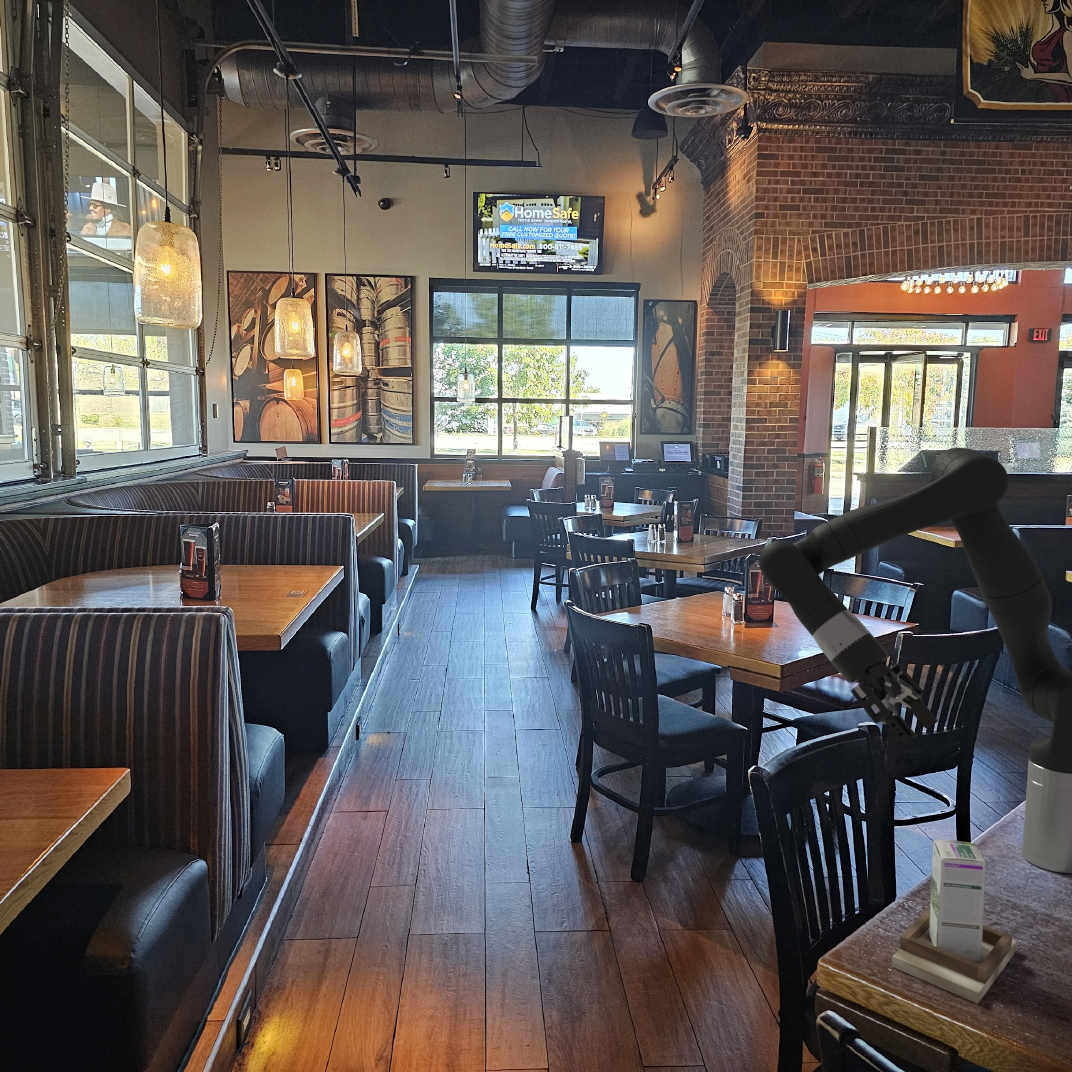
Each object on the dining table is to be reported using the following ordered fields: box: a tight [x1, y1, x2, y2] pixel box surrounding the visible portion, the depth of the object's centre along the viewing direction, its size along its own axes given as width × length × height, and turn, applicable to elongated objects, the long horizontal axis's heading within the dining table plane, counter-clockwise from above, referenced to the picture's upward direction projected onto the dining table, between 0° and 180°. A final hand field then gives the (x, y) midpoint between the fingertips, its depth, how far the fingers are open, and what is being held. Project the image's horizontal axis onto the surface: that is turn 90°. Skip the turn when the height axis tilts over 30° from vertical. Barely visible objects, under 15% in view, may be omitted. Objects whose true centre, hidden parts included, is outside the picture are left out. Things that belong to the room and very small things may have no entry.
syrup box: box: [929, 839, 987, 963], centre depth 118 cm, size 6×6×14 cm
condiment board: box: [891, 906, 1018, 1005], centre depth 119 cm, size 16×11×3 cm
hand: (922, 732), depth 128 cm, fingers open, 8 cm apart
